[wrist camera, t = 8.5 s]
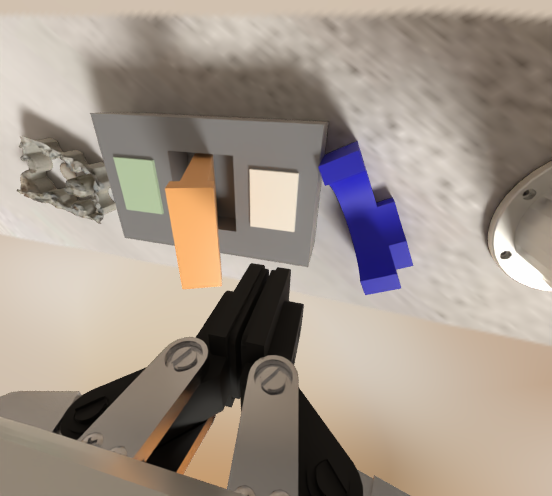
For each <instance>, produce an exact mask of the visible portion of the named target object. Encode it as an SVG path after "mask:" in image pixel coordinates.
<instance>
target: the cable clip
mask: <svg viewBox="0 0 552 496" xmlns="http://www.w3.org/2000/svg"><path fill="white" fill-rule="evenodd" d="M318 168H319V171H320V173H321V176H322V179H323V182H324V184H325V186H326V185H330V187H331V188H332V189H333V191H334V193H335V195H336V197H337V199H338V201H339V203H340V206H341V208H342V211H343V213H344V216H345V219H346V222H347V225H348V228H349V231H350V234H351V238H352V241H353V245H354V249H355V253H356V257H357V262H358V267H359V274H360V282H361V285H362V288H363V290H364V293H365V295H368V294H374V293H379V292H384V291H390V290H395V289H400V288H401V286H400V282H399V279H398V275H397V271H396V269H401V268H405V267H410V266H413V263H412V259H411V256H410V252H409V248H408V245H407V241H406V238H405V235H404V232H403V229H402V225H401V222H400V219H399V215H398V212H397V208H396V205H395V201H394V199H393V197H392V198H389V199H386V200H383V201H380V202H377V203H376V201H375V198H374V194H373V191H372V188H371V184H370V181H369V178H368V174H367V171H366V168H365V165H364V161H363V158H362V155H361V151H360V148H359V145H358V141H356V142H354V143H351V144H349V145H347V146H344V147H342V148H339V149H337V150H335V151H332V152H330V153H328V154H325V155H324V157H323V159H322V161H321V163H320V164H319V166H318Z"/></svg>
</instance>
